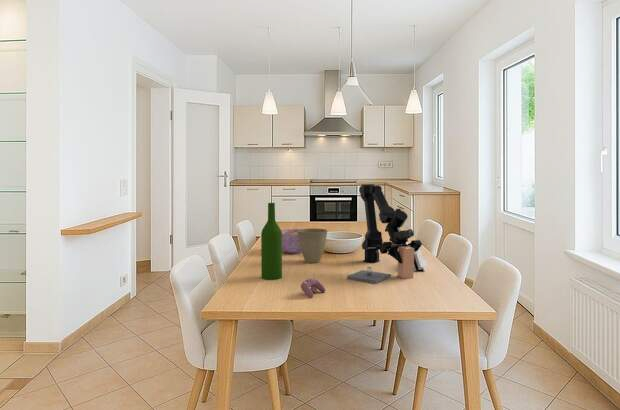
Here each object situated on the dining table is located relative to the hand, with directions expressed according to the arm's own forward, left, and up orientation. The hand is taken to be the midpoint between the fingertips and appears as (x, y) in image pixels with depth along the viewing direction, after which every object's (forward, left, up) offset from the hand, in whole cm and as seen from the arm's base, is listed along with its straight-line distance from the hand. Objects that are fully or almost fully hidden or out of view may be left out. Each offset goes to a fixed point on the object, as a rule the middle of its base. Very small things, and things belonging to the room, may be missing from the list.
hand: (407, 262), depth 209 cm
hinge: (-4, +22, -7) cm, 23 cm away
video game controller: (-19, -45, -7) cm, 49 cm away
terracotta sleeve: (-1, +1, -7) cm, 7 cm away
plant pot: (-52, +3, -7) cm, 53 cm away
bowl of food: (-74, +17, -7) cm, 76 cm away
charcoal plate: (-13, -10, -7) cm, 18 cm away
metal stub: (-13, -10, -5) cm, 18 cm away
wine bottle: (-48, -34, -7) cm, 59 cm away
